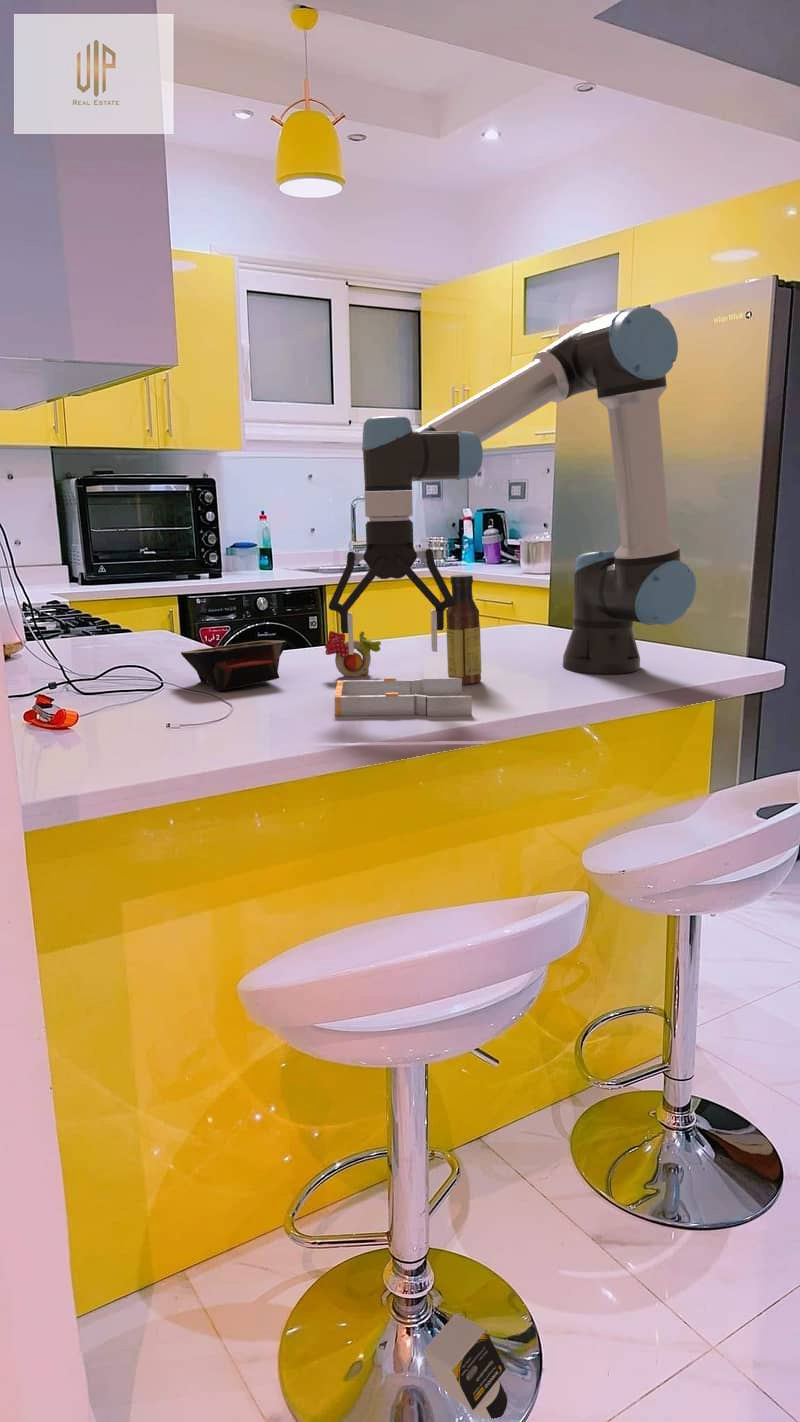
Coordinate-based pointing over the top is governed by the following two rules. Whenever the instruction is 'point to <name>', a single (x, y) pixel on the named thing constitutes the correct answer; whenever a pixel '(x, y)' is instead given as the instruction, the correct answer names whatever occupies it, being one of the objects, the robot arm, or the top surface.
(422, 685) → the keyhole rails
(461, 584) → the sauce bottle
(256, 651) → the baking dish
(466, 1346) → the medicine bottle
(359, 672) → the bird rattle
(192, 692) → the top surface
